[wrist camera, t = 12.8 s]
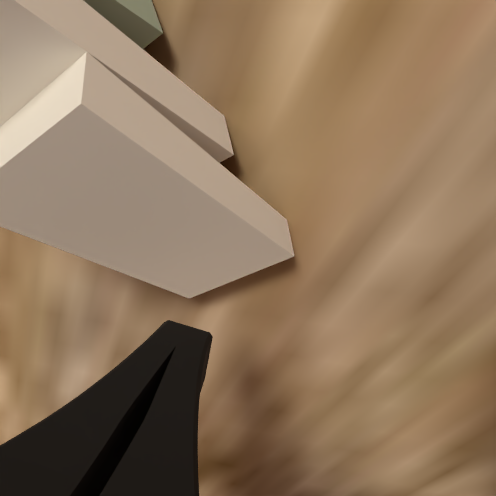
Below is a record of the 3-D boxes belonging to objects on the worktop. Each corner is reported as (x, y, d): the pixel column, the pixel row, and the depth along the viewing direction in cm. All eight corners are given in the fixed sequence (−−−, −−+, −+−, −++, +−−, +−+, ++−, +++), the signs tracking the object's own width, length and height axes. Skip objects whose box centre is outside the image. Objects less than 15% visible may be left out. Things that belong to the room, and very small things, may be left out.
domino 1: (233, 155, 13) (-103, -82, 6) (128, 214, 16) (-216, 96, 8) (224, 116, 14) (-94, -145, 6) (123, 178, 16) (-203, 37, 9)
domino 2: (294, 256, 15) (80, 103, 8) (189, 298, 17) (-50, 207, 10) (286, 219, 16) (86, 51, 9) (187, 264, 18) (-37, 158, 11)
